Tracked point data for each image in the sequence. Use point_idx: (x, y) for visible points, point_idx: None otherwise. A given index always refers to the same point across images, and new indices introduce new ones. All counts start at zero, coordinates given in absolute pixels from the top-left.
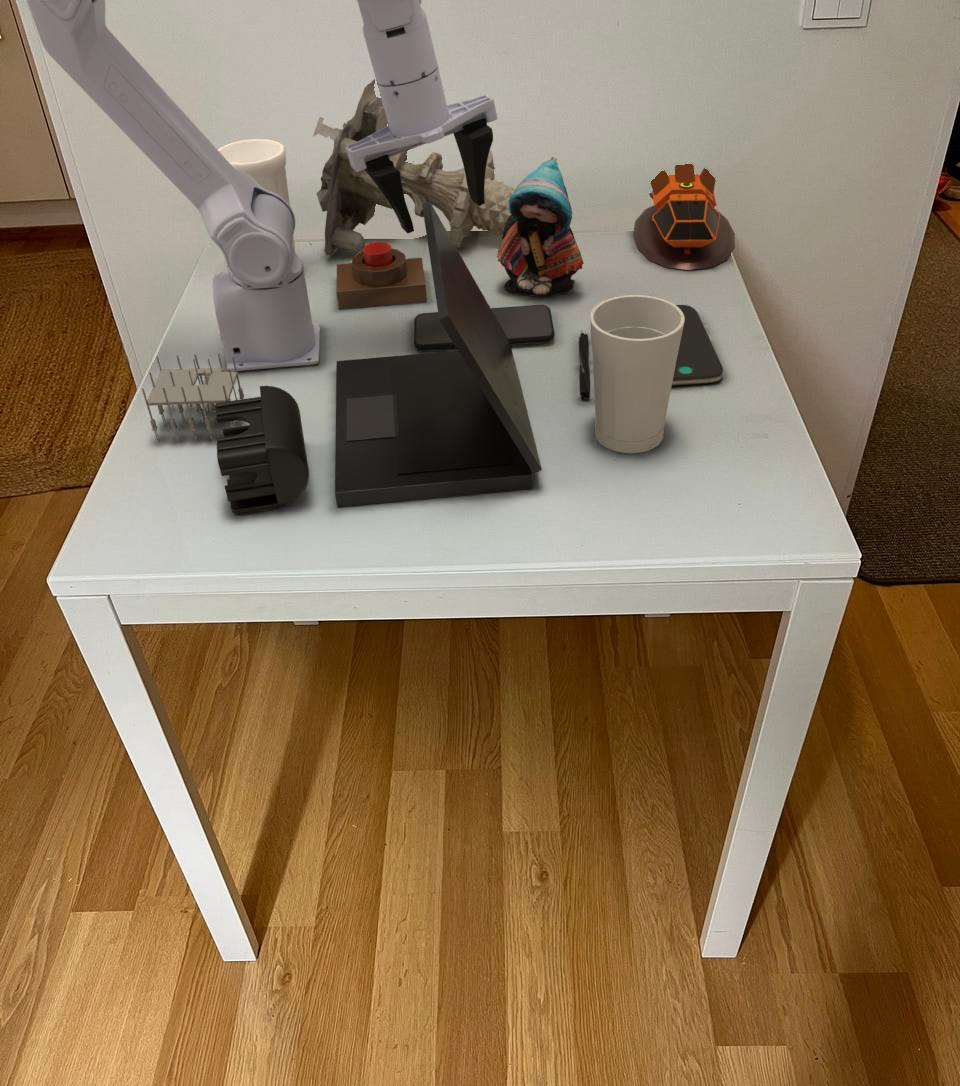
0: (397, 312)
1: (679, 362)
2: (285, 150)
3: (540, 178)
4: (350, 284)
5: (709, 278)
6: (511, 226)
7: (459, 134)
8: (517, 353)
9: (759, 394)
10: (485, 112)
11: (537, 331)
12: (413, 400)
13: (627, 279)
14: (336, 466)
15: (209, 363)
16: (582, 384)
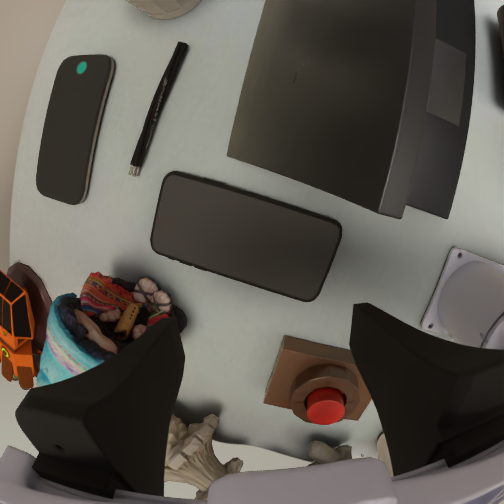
0: (326, 327)
1: (79, 82)
2: None
3: (62, 366)
4: None
5: (20, 246)
6: None
7: (141, 486)
8: (218, 167)
9: (57, 43)
10: (20, 481)
11: (180, 189)
12: None
13: (70, 278)
14: (474, 27)
15: None
16: (177, 58)
